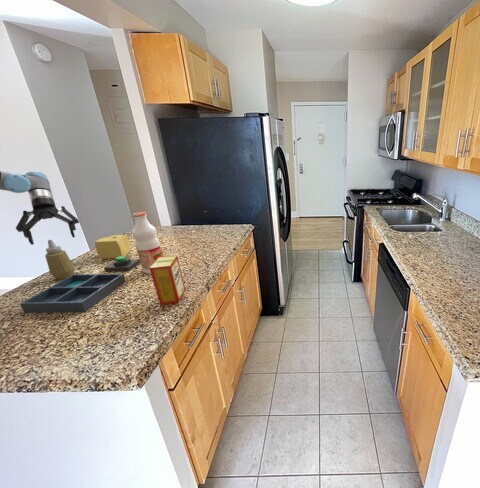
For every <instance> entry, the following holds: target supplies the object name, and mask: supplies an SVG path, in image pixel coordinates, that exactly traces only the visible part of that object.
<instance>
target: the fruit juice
mask: <svg viewBox="0 0 480 488" xmlns="http://www.w3.org/2000/svg"><path fill="white" fill-rule="evenodd" d="M147 215H148V214H147V212H146V211H138V212H134V213H132V217H133V218H134V227H133V229H132V232H131V234H132V237H133V238H134V239H135V243H134V244H135V245H134V246H135V249H136V253H137V255H138V259H140V262H141V263H140V265H141V269H142V271H143V273H144V274H147V275H151V271H150V267H151V266H152V265H153V264H154V263H155V261H156V260H157V259H158V258H159V257H165V256H164V253H163V249H162V245H161V241H160V240H159V239H160V238H159V237H158V235H157V233H158V231H157V227H155V226H154V225H153V224H151V222H150V221H149V220H148V218H147Z"/></svg>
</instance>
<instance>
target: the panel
mask: <svg viewBox="0 0 480 488" xmlns="http://www.w3.org/2000/svg"><path fill="white" fill-rule="evenodd" d="M125 258H126V260H124V261H121V262H117V260H116V258H114V260H113V261H112V262H111V263H109V264H107V265H105V266H104V267H103V270H104V272H105V273H107V272H108V273H109V272H110V273H112V272H117V273H119V272H130V271H132V270H133V269H134V268H136V267H137V266H139V265H141V262H140V259H139V258H130V257H128V256H125Z"/></svg>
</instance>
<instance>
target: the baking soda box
mask: <svg viewBox="0 0 480 488" xmlns="http://www.w3.org/2000/svg"><path fill="white" fill-rule="evenodd" d="M150 271H151V274H150V275H151V277H152V282H153V285H154V288H155V292H156V296H157V298H158V303H159V306H163V305H171V304H179V303H180V301H181V299H182V298H183V296H184V294H185V292H186V286H185V281H184V277H183V273H182V269H181V264H180V260H179V256H178V255H168V256H167V255H166V256H164V257H159V258H158V259H157V260H156V261H155V263H154V264H153V265H152V266H151V267H150Z"/></svg>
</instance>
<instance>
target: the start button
mask: <svg viewBox="0 0 480 488" xmlns="http://www.w3.org/2000/svg"><path fill="white" fill-rule="evenodd" d="M125 257H126V255H124V256H119V257H117V258H115V259H116V260H117V262H121V261H124V260H126V258H125Z"/></svg>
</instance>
